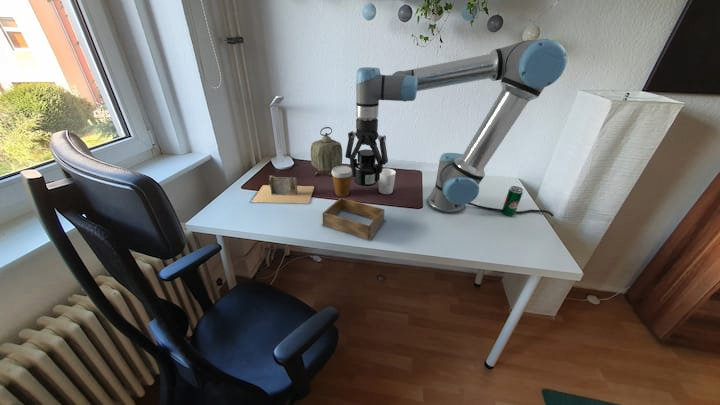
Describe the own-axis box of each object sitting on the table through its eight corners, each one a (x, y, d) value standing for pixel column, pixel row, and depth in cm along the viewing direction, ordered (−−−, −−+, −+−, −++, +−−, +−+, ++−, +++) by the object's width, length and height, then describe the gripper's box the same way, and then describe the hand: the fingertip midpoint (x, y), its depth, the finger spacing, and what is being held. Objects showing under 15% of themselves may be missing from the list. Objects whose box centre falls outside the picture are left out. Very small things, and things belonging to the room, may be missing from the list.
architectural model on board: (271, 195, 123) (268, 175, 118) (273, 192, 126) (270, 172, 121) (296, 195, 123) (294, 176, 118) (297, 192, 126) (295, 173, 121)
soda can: (507, 217, 112) (516, 191, 106) (498, 211, 116) (507, 186, 110) (517, 216, 113) (526, 190, 107) (508, 209, 117) (517, 184, 111)
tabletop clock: (334, 168, 151) (333, 123, 139) (344, 173, 145) (343, 127, 133) (312, 174, 143) (308, 127, 131) (321, 180, 137) (318, 131, 125)
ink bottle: (371, 189, 100) (371, 158, 94) (350, 184, 103) (349, 154, 97) (381, 179, 107) (383, 150, 101) (361, 175, 111) (362, 146, 105)
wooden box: (383, 221, 107) (384, 209, 104) (369, 240, 97) (370, 227, 94) (340, 208, 115) (340, 197, 112) (323, 225, 104) (322, 213, 101)
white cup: (396, 193, 128) (398, 174, 122) (381, 196, 125) (383, 176, 120) (389, 186, 134) (390, 167, 129) (374, 188, 131) (375, 169, 126)
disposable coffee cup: (343, 200, 121) (343, 175, 115) (327, 194, 125) (326, 170, 119) (356, 192, 127) (356, 169, 121) (341, 186, 132) (340, 163, 126)
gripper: (400, 118, 92) (395, 179, 103) (344, 112, 100) (345, 169, 111) (393, 123, 86) (389, 187, 97) (334, 116, 94) (336, 176, 105)
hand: (365, 177), depth 104 cm, fingers closed on ink bottle, 9 cm apart
